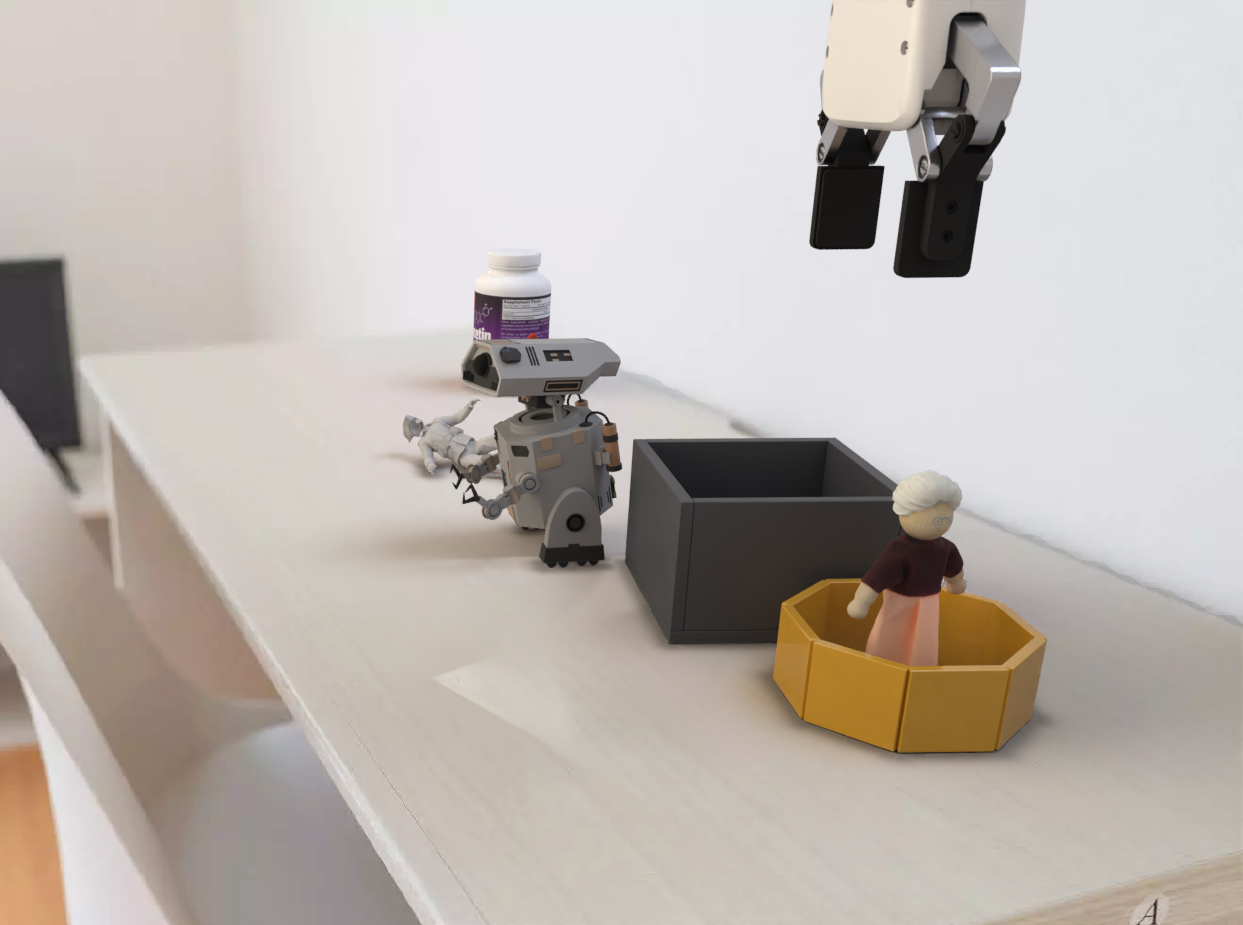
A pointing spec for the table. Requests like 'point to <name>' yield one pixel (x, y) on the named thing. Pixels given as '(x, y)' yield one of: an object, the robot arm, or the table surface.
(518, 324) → the pill bottle
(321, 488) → the table surface
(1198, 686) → the table surface
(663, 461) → the bin
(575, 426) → the figurine
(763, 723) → the table surface
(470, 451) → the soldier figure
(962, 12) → the robot arm
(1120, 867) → the table surface
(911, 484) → the grandmother figurine
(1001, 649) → the yellow octagonal ring
